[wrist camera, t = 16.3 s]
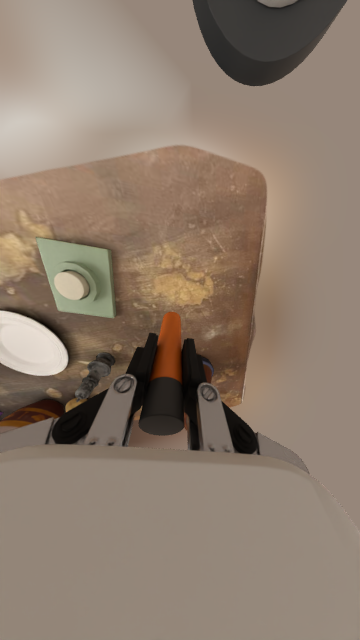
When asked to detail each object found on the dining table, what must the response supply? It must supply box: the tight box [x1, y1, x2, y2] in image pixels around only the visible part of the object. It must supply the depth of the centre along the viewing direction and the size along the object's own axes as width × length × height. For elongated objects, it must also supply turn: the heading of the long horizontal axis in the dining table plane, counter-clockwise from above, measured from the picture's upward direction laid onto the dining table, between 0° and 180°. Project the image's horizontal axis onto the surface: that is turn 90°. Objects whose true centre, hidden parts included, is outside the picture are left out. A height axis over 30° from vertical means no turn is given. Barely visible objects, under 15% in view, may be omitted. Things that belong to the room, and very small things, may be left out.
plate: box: [0, 311, 69, 376], centre depth 33 cm, size 21×21×2 cm
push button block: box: [36, 237, 116, 318], centre depth 25 cm, size 14×12×3 cm
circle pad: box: [54, 271, 90, 300], centre depth 24 cm, size 5×5×2 cm
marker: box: [139, 312, 184, 435], centre depth 11 cm, size 2×2×11 cm
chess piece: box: [75, 353, 115, 402], centre depth 31 cm, size 6×6×12 cm
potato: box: [66, 398, 87, 412], centre depth 43 cm, size 7×11×6 cm, turn 10°
